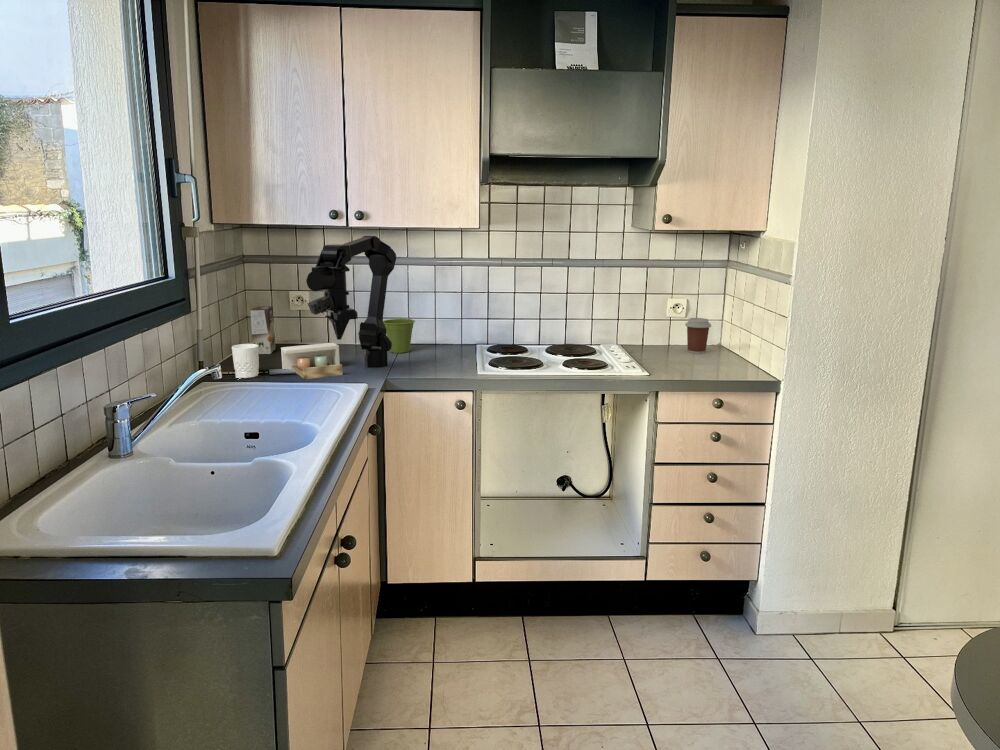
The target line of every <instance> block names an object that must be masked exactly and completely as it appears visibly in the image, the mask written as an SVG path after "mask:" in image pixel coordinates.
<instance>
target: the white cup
mask: <svg viewBox="0 0 1000 750" xmlns="http://www.w3.org/2000/svg"><path fill="white" fill-rule="evenodd" d="M231 353H232V361H233V369H234V374H235V379H236V378H239V379H242V378H243V379H247V378H255V377H257V376H259V375H258V374H259V369H260V361H259V360H260V357H259V355H260V354H259V348H258V345H257V344H253V343H240V344H239V343H238V344H234V345H232V346H231ZM239 379H238V380H239Z"/></svg>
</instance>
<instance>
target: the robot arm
mask: <svg viewBox="0 0 1000 750" xmlns="http://www.w3.org/2000/svg"><path fill="white" fill-rule="evenodd" d="M361 254H364V255H365V257H366V258H367V259H368V266H369V269H370V271H371V274H372V277H371V285H370V290H369V291H370V293H369V301H368V308H367V309H368V310H367V315H366V316H367V317H366V319H365V320H364V321H363V322H360V323H359V329H358V333H357V334H358V340H359V345H360V348H361V350H363V351H365V354H364V366H365V368H369V369H373V368H375V369H377V368H379V369H380V368H385V367H388V368H390V366H389V365H388V361H389V360H388V352H390V350H391V346H392V343H391V341H390V340H389V338H388V337H387V334H386V327H385V325H384V322H383V321H384V312H385V311H384V310H385V304H386V293H387V287H388V280H389V279H388V278H389V275H391V273H392V272H393V271H394V269H395V265H396V260H397V254H396V252H395V250H394V249H392V246H390V245H389V244H387V243H385V242H383V240H381V239H380V238H379V237H378V236H376V235H363V236H362V237H360V238H356V239H355V240H351V241H348V242H345V243H343V244H342V243H341V244H326V245H324V246H323V247H322V250H321V252H320V254H319V256H318V259H317V262H316V264H315V266H314V267H311V271H310V272H309V273H308V275H307V277H306V286H307V287H308V288H309V290H310V291H312V292H319V291H324V292H323V295H324V296H321V297H318V298H316V299H314V300H312V301H309V302H307V307H308V308H309V310H310V311H309V312H310V313H311V314H313V315H314V316H315V315H319V314H325V312H327V315H325V318H326V319H328V320H329V321H330V322H331V324H332V328H333V331H334V335H335V337H336V340H342V338H343V336H344V335H345V331H346V328H348V327H347V326H348V325H349V322H350V320H358V317H359V316H358V311H357V310H355V309H354V308H351V307H350V305H349V304H348V296H349V295H350V292H349V291H348V290H347V273H346V272H350V271H351V269H350V268H349V267H348V266H347V265H346V264H348V263H349V262H351V261H352V259H353V258H354V257H355V256H358V255H361Z"/></svg>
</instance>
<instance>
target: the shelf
mask: <svg viewBox="0 0 1000 750" xmlns="http://www.w3.org/2000/svg"><path fill="white" fill-rule="evenodd" d="M280 350H281V353H280V354H281V367H282V369H290V370H292V369H291V366H295V365H297V358H298V357H310V364H314V363H315V362H314V356H317V355H326V356H327V362H329V363H330V364H332V365H338V364H341V363H340V346H339V344H336V343H334V342H327V343H326V342H325V343H323V342H322V343H314V344H304V345H303V344H302V345H294V346H292V345H291V346H283V347H280Z"/></svg>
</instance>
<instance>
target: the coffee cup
mask: <svg viewBox="0 0 1000 750" xmlns="http://www.w3.org/2000/svg"><path fill="white" fill-rule="evenodd" d="M684 325H685V327H686V334H687V335H686V336H687V338H686V339H687V342H686V343H687V344H686V345H687V352H688V353H689V354H690V353H691V354H705V353H706V350H707V344H708V338H709V331H710V328H711V327H712V323H710V322H709V319H708V318H704V317H690V318H688V321H687V322H685V324H684Z"/></svg>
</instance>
